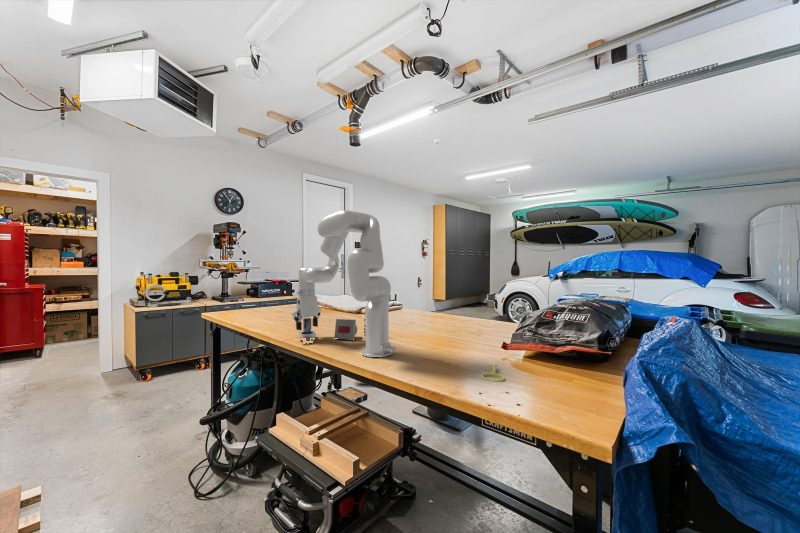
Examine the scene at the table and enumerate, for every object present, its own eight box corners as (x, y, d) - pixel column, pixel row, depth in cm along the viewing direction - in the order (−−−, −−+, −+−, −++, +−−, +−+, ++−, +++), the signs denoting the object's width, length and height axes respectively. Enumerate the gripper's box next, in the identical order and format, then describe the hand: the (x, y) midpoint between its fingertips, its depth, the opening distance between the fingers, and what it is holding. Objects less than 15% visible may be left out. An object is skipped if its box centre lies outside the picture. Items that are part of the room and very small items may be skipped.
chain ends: (316, 343, 144) (316, 337, 144) (299, 345, 141) (299, 338, 141) (314, 332, 167) (314, 326, 167) (299, 333, 165) (299, 327, 165)
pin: (313, 338, 153) (312, 318, 153) (306, 340, 150) (306, 319, 150) (308, 337, 155) (307, 317, 155) (301, 339, 152) (301, 318, 152)
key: (496, 369, 109) (496, 363, 109) (506, 383, 96) (506, 376, 96) (475, 369, 109) (475, 363, 109) (482, 383, 97) (482, 376, 97)
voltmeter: (335, 343, 145) (335, 321, 145) (332, 337, 156) (332, 317, 155) (390, 338, 153) (390, 318, 153) (384, 333, 164) (384, 314, 164)
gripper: (296, 295, 143) (297, 332, 143) (325, 292, 157) (326, 325, 157) (286, 294, 147) (287, 330, 148) (315, 291, 162) (316, 324, 162)
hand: (307, 328), depth 153 cm, fingers open, 9 cm apart
